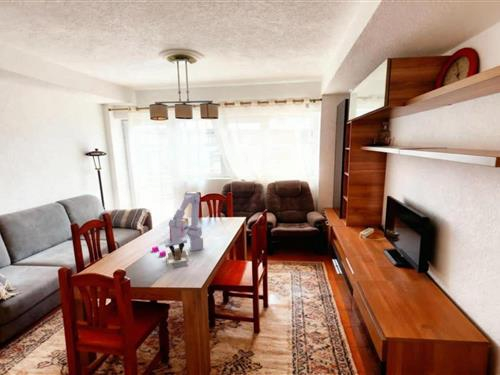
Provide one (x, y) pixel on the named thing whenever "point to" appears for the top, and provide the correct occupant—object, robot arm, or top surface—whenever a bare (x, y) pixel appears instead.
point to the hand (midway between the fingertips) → (177, 254)
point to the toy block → (156, 249)
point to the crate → (171, 260)
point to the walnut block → (177, 254)
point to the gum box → (182, 228)
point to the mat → (180, 264)
